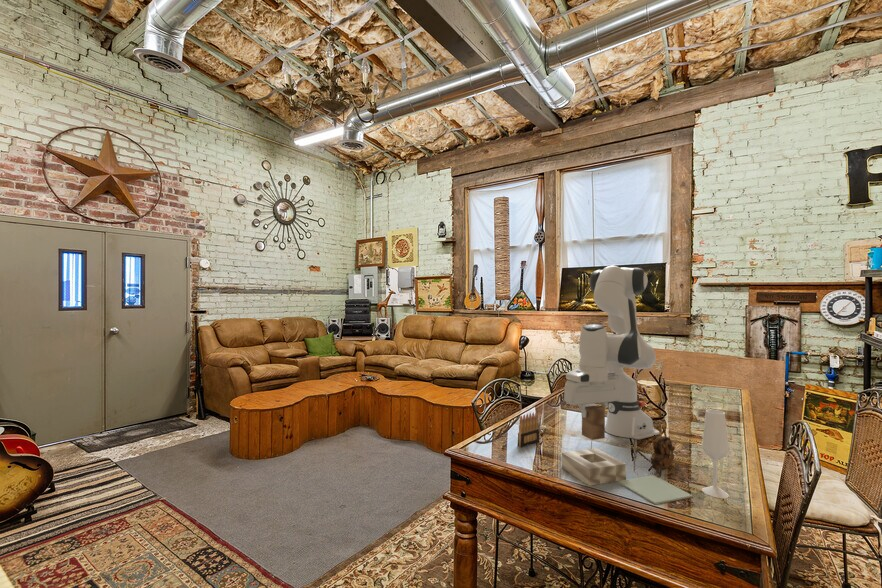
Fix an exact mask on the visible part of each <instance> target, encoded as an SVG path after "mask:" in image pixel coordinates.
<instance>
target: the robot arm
mask: <svg viewBox="0 0 882 588" xmlns="http://www.w3.org/2000/svg"><path fill="white" fill-rule="evenodd" d="M588 281H589V282H588V283H589V287H590V290H591V292H592V293H593V301H594V304H595V305H596V307H597V308H598V309H599V310H601V311H603V312H605V313H606V314H607V317H608V318H607V319H608V324H607V325H608V327H609V328H610V330H611V331H612V332H614V333H607V328H606V327H605V326H604V325H602V324H596V323H591V324H586V325H583V326H582V327H581V330H580V335H579V343H578V344H579V350H578V351H579V356H580V360H579V364H578V365H579V366H578V367H576V368H574V369H573V370H570V371H568V372H567V373H565V378H566V382H565V384H564V394H563V399H564V402H565V403H566V404H567V405H570V406H578V408H579V409H580V411H581V413H580V414H581V418H582V417H584V418H586V417H589V412H587V411H586V410H585V407H586V404H599V405H600V406H602V407H605V411H606V409H608V410H607V416H606V421H605V433H606V434H609V435H611V436H612V435H613V436H616V437H621V438H628V439H634V440H643V439H646V438H650V437H654V435H655V436H657V435H658V436H659V435H660V431H659V430H658V429H656V428H654V422H653V419H652V418H651V417H650V416H649V415H648V414H647V413H645V412H644V411H643V409H641V407H645V401H642V400H637V399H638V384H637V381H636V380H635V379H634V378H632V377H631V376H629V375H628V374H627V373H626V372H625V371H624V368H627V369H634V370H644V369H645V370H646V369H651V368H652V367H653V366H654V365H655V363H656V361H657V354H656V351H655V349H654V347H653V346H651V345H650V344H649V343H647V341H645V340H644V338H643V337H642V335H641V333H640V331H639V327H638V320H637V302H636V297H637V296H639V294H642V293H643V292H645V290H646V288H647V286H648V283H649V282H648V281H649V280H648V275H647V273H646V271H645V269H643V268H639V267H619V266H617V265H609V266H605V267H604V268H603V269H597V270H593V272H592V273H591V274H590V275H589V280H588ZM640 406H641V407H640Z"/></svg>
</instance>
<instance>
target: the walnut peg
mask: <svg viewBox="0 0 882 588" xmlns="http://www.w3.org/2000/svg"><path fill="white" fill-rule="evenodd" d="M585 410H586V411H587V412H589V417H586V418H584V417H582V416H581V435H582V436H583V437H586V438H587V439H589V440H591V441H593V440H602V439H605V438H606V437H605V436H606V431H605V426H606V410H605V407H602V406H601V404H598V403H592V404H586V407H585Z"/></svg>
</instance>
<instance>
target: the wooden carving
mask: <svg viewBox="0 0 882 588" xmlns="http://www.w3.org/2000/svg"><path fill="white" fill-rule="evenodd" d="M652 449H653V452H652V454H651V455H650V462H651V464H652V465H651V466H652V470H659V471H661V470H662V469H663V468H665V469H668V468H669V467H670V466H671V465H672V464H673V462H674V458H675V454H674V451H675V450H676V446H673V442H672V440H671V438H670V436H665V435H663V436H662V435H658V436H656V438H655V439H654V440H653V442H652Z"/></svg>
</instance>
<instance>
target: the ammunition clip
mask: <svg viewBox="0 0 882 588" xmlns="http://www.w3.org/2000/svg"><path fill="white" fill-rule="evenodd" d="M531 413H532V414H531ZM538 416H539V415H538V412H537V411H535V413H534V411H533V412H530V413H529V414H528V413H526V415H525V414H523V416H522V414H521V415H520V416H519V425H518V433H517V447H519V448H524V447H528V446H530V445H531V446H532V445H533V444H537V443H540V429H539V419H538V418H539V417H538Z"/></svg>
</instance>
